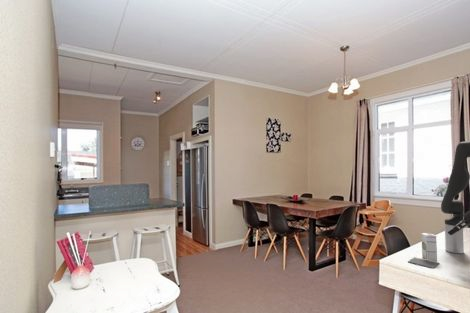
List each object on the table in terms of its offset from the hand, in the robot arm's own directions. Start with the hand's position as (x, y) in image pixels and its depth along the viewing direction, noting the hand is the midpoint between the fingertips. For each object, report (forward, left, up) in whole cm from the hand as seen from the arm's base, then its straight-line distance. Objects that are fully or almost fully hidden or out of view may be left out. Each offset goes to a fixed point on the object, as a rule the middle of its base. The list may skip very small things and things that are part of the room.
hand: (451, 232), depth 152 cm
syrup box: (0, -11, -17) cm, 20 cm away
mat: (+11, -11, -17) cm, 23 cm away
